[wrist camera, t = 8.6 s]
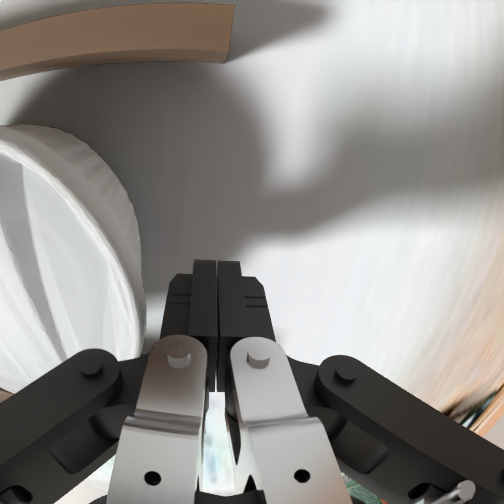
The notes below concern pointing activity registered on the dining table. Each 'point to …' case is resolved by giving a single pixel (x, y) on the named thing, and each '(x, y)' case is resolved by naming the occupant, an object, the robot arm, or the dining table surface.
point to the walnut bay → (117, 41)
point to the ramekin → (64, 256)
